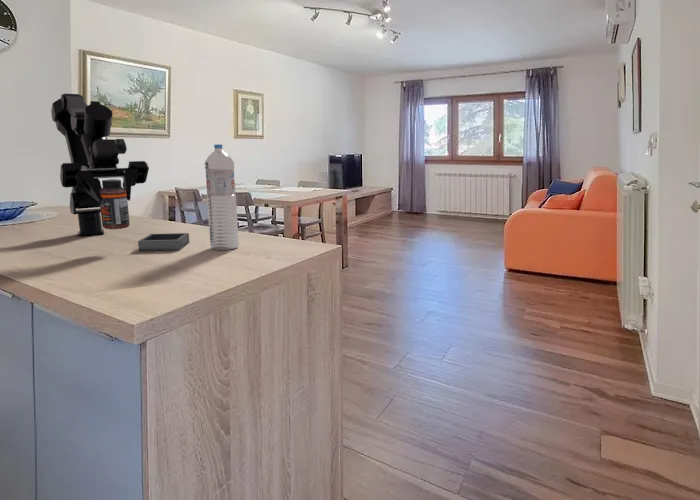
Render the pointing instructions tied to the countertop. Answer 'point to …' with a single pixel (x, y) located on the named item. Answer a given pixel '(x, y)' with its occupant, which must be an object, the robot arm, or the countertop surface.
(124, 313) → the countertop surface
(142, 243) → the tray
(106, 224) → the supplement bottle
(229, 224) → the water bottle
